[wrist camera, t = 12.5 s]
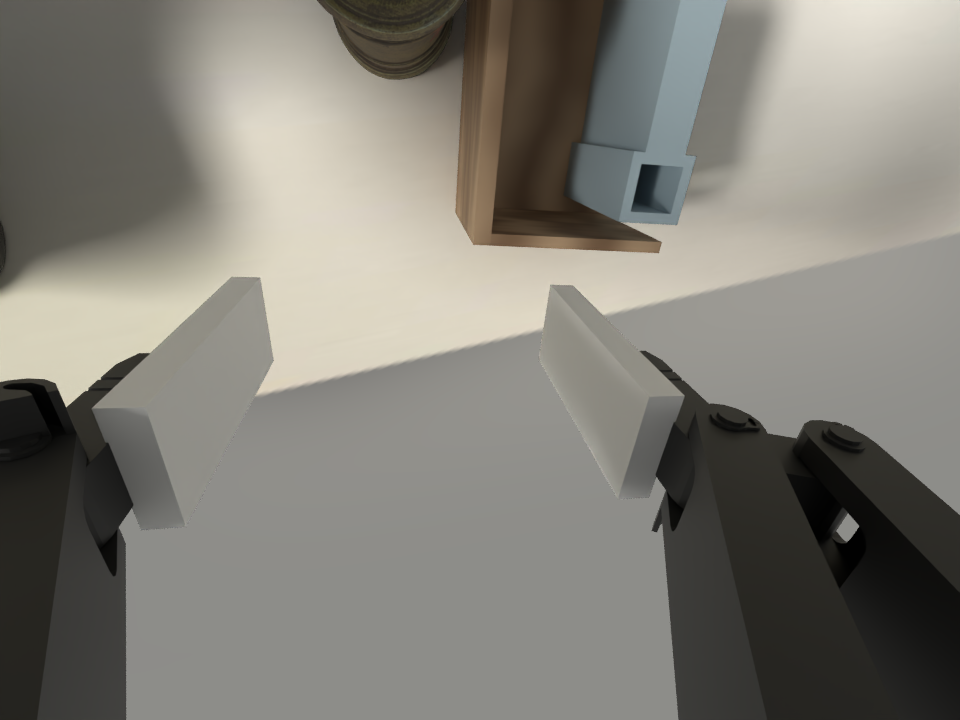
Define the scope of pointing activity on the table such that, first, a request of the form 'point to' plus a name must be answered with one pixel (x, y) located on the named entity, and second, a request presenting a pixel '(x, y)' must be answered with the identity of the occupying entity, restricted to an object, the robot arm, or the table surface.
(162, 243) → the table surface
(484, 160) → the cabinet
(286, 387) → the table surface
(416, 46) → the container
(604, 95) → the door
